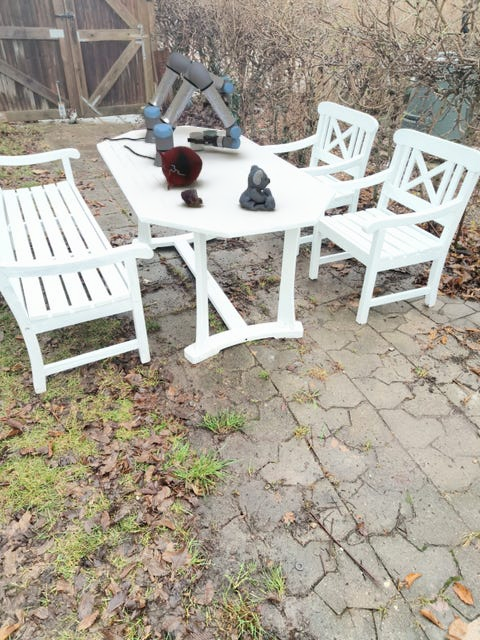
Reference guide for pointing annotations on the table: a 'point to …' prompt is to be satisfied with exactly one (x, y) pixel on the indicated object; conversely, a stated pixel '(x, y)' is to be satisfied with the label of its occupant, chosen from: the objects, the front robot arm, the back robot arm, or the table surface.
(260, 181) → the koala plush
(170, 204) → the table surface
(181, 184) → the dark red pot
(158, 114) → the back robot arm
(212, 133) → the tub
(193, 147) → the grey paneled bucket
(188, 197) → the rock
